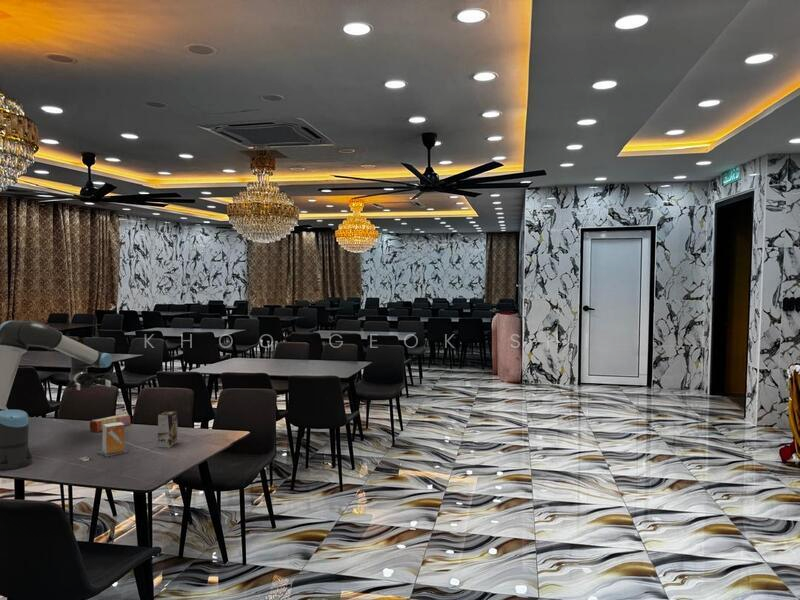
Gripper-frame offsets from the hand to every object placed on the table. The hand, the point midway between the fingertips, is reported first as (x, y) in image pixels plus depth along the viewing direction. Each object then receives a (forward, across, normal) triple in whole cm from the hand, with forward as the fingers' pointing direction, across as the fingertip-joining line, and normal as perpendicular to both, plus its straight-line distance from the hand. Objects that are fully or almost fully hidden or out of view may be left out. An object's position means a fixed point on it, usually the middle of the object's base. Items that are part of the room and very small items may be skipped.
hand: (94, 385), depth 275 cm
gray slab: (+16, -4, -30) cm, 34 cm away
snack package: (-34, -16, -30) cm, 48 cm away
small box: (+16, -4, -30) cm, 34 cm away
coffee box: (+19, -28, -30) cm, 46 cm away
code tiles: (+18, +8, -30) cm, 36 cm away
